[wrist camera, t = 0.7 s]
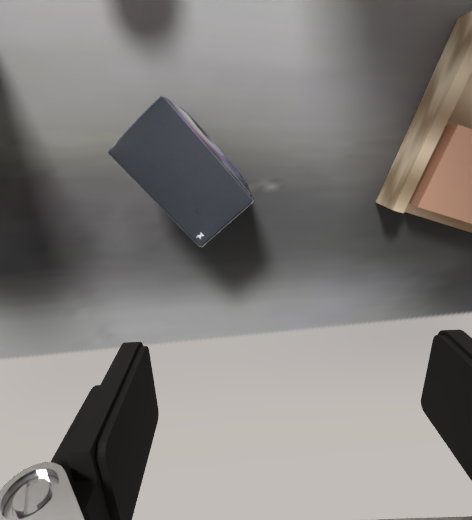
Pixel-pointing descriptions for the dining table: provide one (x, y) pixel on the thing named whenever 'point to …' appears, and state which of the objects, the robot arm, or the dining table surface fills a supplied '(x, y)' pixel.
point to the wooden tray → (434, 124)
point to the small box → (182, 170)
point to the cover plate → (448, 176)
